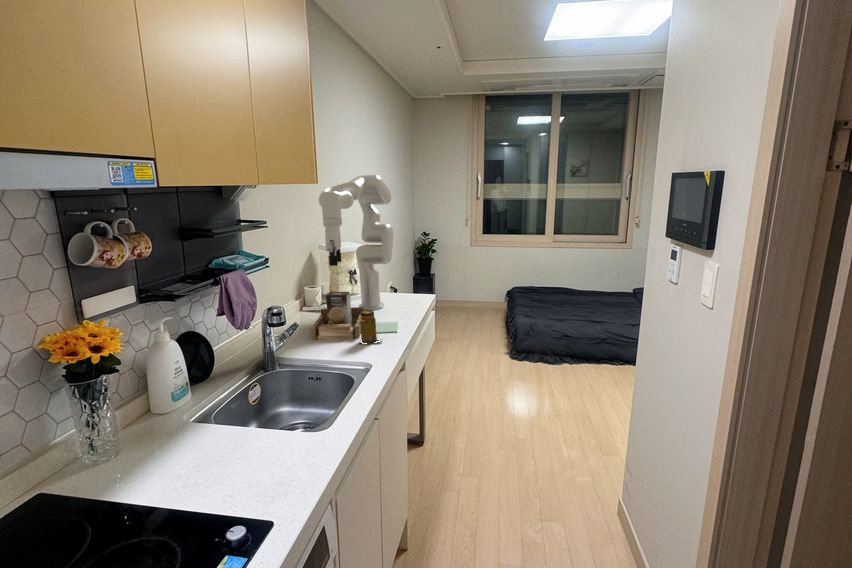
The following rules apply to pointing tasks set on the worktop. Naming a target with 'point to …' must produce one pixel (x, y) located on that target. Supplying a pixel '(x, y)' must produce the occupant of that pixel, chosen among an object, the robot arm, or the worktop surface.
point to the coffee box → (339, 308)
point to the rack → (324, 321)
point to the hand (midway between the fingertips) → (335, 263)
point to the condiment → (368, 327)
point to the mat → (386, 327)
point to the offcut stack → (335, 331)
